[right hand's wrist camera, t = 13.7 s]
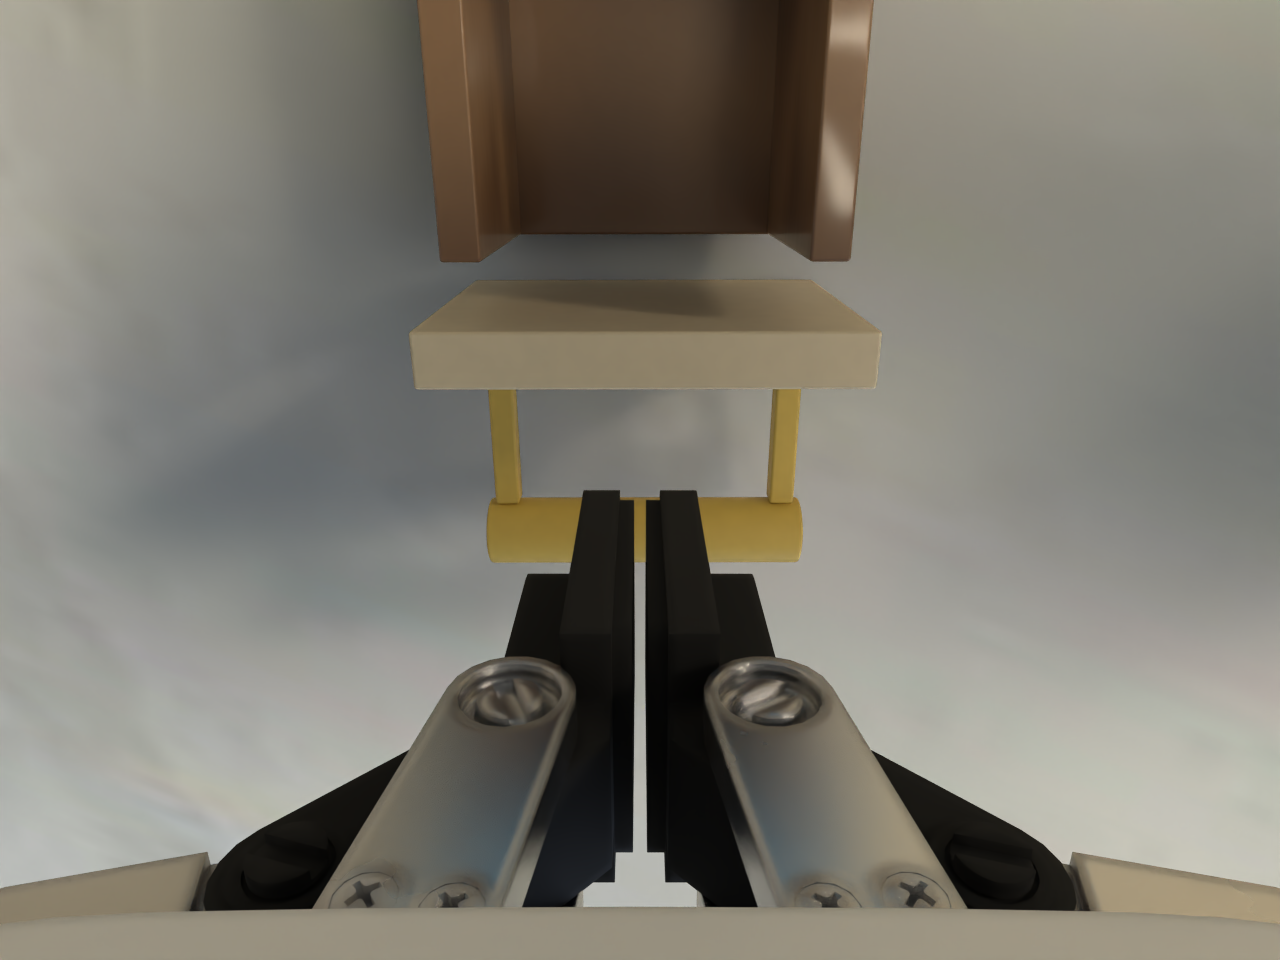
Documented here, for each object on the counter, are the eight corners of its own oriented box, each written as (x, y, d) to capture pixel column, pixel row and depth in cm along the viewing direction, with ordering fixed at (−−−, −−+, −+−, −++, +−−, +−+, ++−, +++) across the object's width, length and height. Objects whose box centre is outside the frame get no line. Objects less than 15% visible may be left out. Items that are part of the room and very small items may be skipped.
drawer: (796, 498, 25) (852, 621, 19) (491, 498, 25) (438, 622, 19) (871, -513, 17) (1020, -944, 10) (416, -513, 17) (271, -943, 10)
